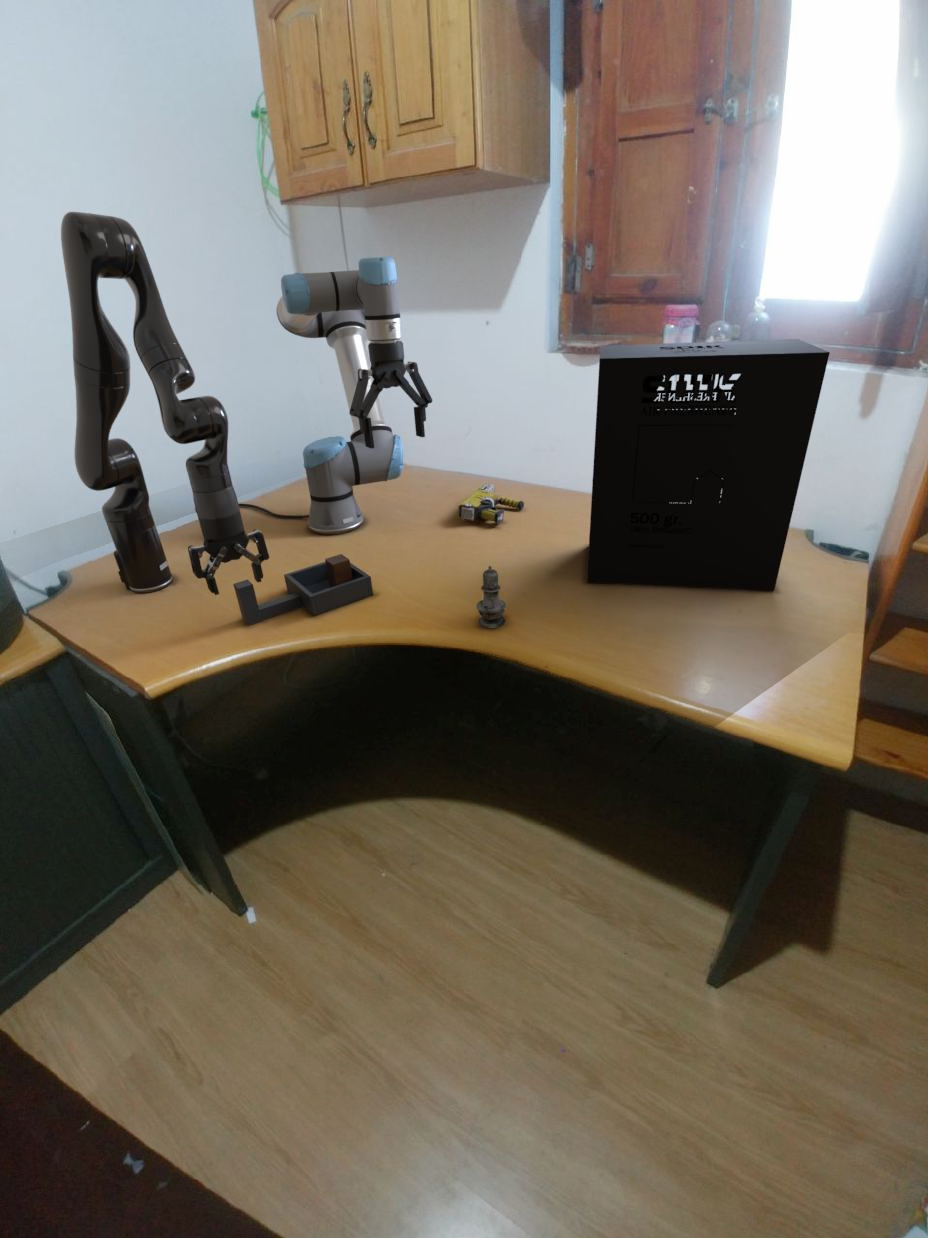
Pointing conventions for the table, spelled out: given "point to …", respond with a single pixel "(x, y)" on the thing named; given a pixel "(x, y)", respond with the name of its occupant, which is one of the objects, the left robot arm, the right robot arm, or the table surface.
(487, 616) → the grey tall tiered piece
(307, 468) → the right robot arm
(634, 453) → the cardboard box
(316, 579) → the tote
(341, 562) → the walnut block
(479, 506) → the toy gun
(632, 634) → the table surface
